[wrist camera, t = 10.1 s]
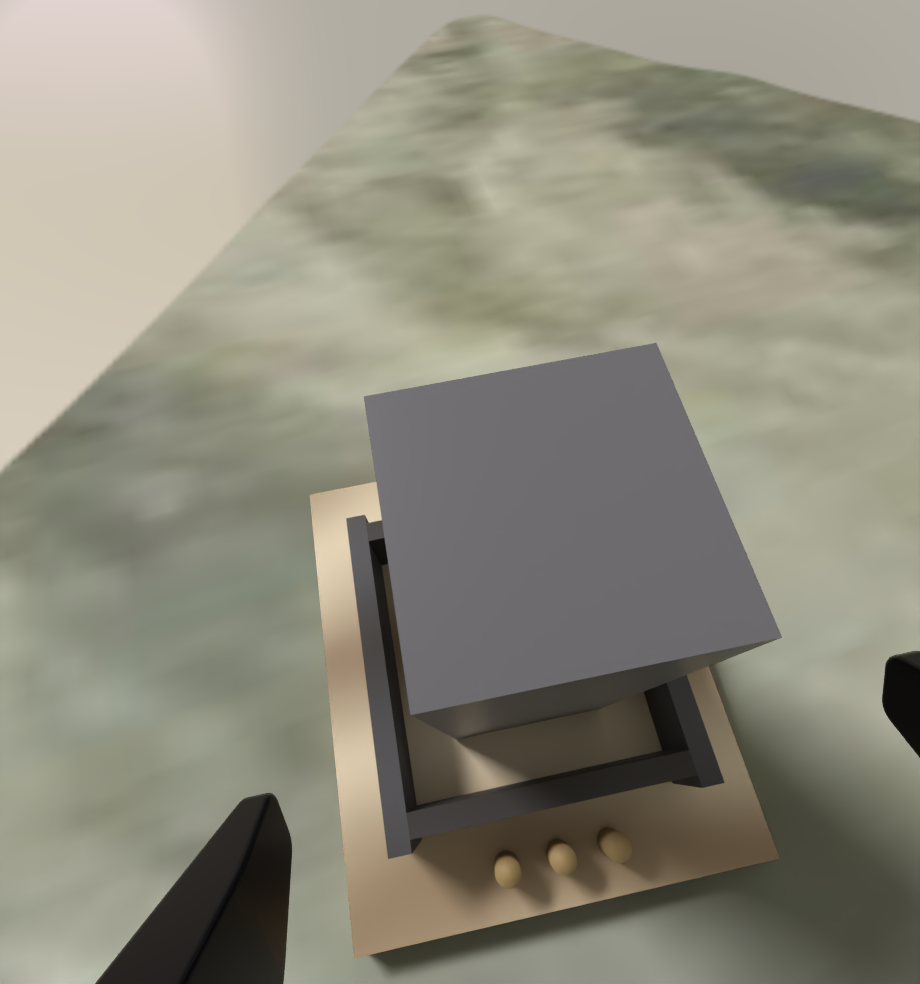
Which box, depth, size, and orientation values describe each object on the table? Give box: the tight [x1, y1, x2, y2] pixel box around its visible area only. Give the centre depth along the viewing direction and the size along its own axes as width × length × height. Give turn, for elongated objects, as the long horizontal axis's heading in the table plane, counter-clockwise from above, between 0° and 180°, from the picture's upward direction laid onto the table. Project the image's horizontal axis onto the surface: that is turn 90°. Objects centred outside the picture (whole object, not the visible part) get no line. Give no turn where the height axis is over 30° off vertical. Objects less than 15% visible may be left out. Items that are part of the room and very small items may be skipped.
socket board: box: [310, 482, 780, 958], centre depth 18 cm, size 14×12×4 cm
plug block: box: [364, 343, 782, 739], centre depth 13 cm, size 4×4×12 cm
